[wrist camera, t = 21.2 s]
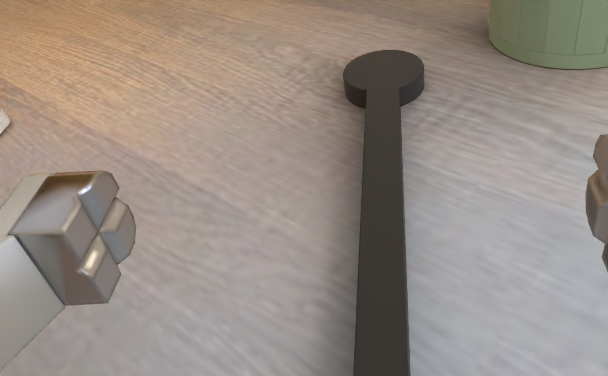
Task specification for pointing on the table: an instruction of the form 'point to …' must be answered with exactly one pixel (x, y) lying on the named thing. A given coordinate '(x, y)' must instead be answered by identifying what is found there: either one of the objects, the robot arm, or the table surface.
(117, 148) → the table surface
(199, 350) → the table surface
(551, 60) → the crock
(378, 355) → the serving spoon
